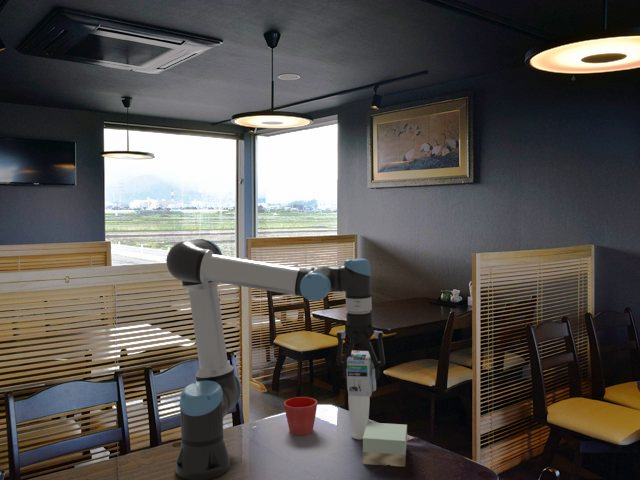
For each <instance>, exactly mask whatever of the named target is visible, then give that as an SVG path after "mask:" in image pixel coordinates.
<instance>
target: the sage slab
mask: <svg viewBox="0 0 640 480" xmlns="http://www.w3.org/2000/svg"><path fill="white" fill-rule="evenodd" d="M407 441H408V424H402V423H401V424H400V423H399V424H398V423H386V422H385V423H382V422H381V423H380V422H369V421H368V422H367V425H366V429H365V432H364V436H363V439H362V453H363V452H371V453H385V454H400V455H406V456H407V443H408V442H407Z"/></svg>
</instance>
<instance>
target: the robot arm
mask: <svg viewBox="0 0 640 480" xmlns="http://www.w3.org/2000/svg"><path fill="white" fill-rule="evenodd" d="M166 268H167V270H168V272H169V274H170V275H171V276H172V277H174V278H175V279H177V280H179V281H181V283H182V287H183V288H184V289H185V290H186V291H188V297H189V303H190V304H189V305H190V309H191V315H192V316H191V317H192V324H193V330H194V336H195V337H194V339H195V344H196V350H197V358H198V362H199V363H198V364H199V369H198V370H197V372H196V373H195V380H196V381H195V382H194V383H190V384H189V385H186V386H185V387H184V388H182V391H181V392H180V395H179V397H180V398H179V409H180V410H179V413H180V435H181V443H180V444H181V445H180V448H179V452H178V454H177V458H176V460H175V461H176V462H175V473H176V475H177V476H178V477H179V478H181V479H184V480H212V479H215V478H217V477H220V476H223V475H224V474H226V473H227V472H228V471H229V469H230V467H231V455H230V453H229V451H228V448H227V445H226V441H225V440H224V418H225V417H226V416H227V415H228V414H229V412H231V411H232V410H233V409H234V408H235V407H236V405H237V404H238V402H239V400H240V397H241V394H242V384H241V381H240V378H238V376H236V374H235V368H234V366H233V365H231V364H230V363H229V361H228V360H229V359H228V355H227V348H226V342H225V341H226V340H225V333H224V326H223V320H222V314H221V307H220V306H221V305H220V300H219V293H218V285H219V284H226V285H231V286H237V287H244V288H250V289H256V290H262V291H269V292H274V293H281V294H286V295H292V296H299V297H301V298H302V297H303V298H305V299H306V300H308V301H311V302H318V301H321V300H324V299H325V298H326V297H327V296H328V294H330V293H336V292H339V293H344V292H345V311H347V312H346V313H345V316H346V317H345V318H346V328H345V329H344V330H338V331H337V332H336V337H337V351H336V365H337V366H338V367H341V368H342V377H343V379H346V387H347V389H346V390H347V391H348V373H347V359H348V357H349V356H350V355H351V353H352V351H354V346H355V345H357V344H361V345H365V347H366V349H367V351H368V352H369V354H370V357H371V359H372V362H373V364H374V366H373V367H372V382H373V392H376V390H377V380H379V378H380V368H381V367H385V365H386V359H385V351H384V344H383V337H384V336H383V335H384V331H383V330H375V328H374V327H373V313H372V310H373V306H372V305H373V303H372V301H373V300H372V274H371V273H372V272H371V263H370V260H369V259H367V258H360V257H359V258H348V259H345V260H344V264H343V265H340V266H338V265H337V266H318V265H317V266H316V265H315V266H307V267H306V268H300V267H293V266H288V265H283V264H276V263H270V262H263V261H257V260H252V259H244V258H240V257H239V258H238V257H232V256H227V255H223V253H222V251H221V248H220V247H219V246H218V245H217V244H215V242H213V241H212V240H209V239H205V238H196V239H192V240H184V241H180V242H178V243H176V244H174V245H173V246H172V247H170V249H169V251H168V253H167V255H166ZM373 335H374V337H375V339H376V340H377V341H376V343H377V349H378V354H379V360H378V358H377V355H376V353H375V350H374V347H373V345H372V342H371V338H372V337H373ZM345 336H347V337H348V339H349V340H350V341H349V345H348V347H347V351H346V354H345V357H344V360H343V350H344V349H343V347H344V338H345Z"/></svg>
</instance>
